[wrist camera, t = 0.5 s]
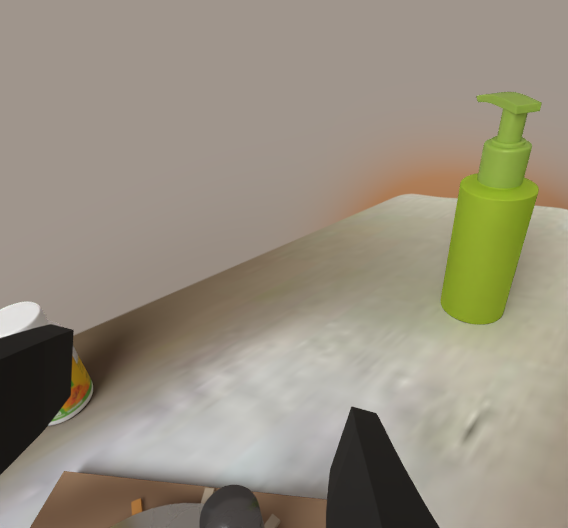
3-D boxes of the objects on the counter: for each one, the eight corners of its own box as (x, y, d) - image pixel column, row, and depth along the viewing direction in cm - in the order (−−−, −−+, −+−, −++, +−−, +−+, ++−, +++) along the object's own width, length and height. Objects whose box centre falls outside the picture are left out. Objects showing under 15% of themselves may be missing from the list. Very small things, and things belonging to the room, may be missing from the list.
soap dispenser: (477, 278, 44) (521, 84, 33) (516, 319, 38) (585, 100, 27) (426, 286, 44) (453, 92, 32) (458, 329, 38) (504, 111, 27)
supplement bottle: (33, 440, 32) (-31, 356, 27) (25, 396, 36) (-32, 315, 30) (101, 404, 34) (55, 320, 29) (87, 367, 38) (44, 286, 33)
